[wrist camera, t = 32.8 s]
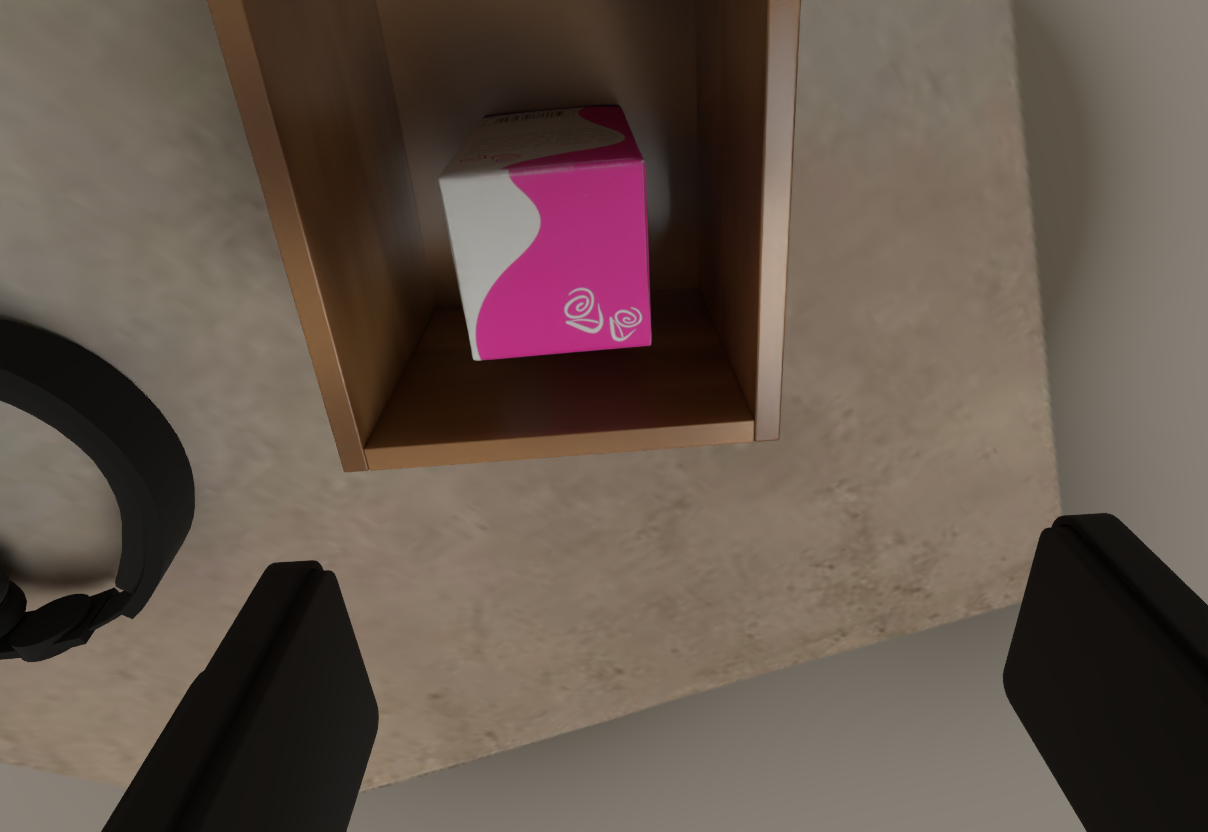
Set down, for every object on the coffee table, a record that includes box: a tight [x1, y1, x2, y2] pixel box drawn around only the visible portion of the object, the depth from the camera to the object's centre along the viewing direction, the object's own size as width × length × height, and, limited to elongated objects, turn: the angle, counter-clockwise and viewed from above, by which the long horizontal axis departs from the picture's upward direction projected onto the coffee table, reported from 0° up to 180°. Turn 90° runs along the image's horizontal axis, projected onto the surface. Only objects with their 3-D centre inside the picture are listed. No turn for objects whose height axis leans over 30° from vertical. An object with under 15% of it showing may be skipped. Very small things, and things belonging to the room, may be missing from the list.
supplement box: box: [438, 105, 652, 361], centre depth 26 cm, size 6×6×12 cm
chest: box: [207, 0, 801, 472], centre depth 25 cm, size 15×14×13 cm
